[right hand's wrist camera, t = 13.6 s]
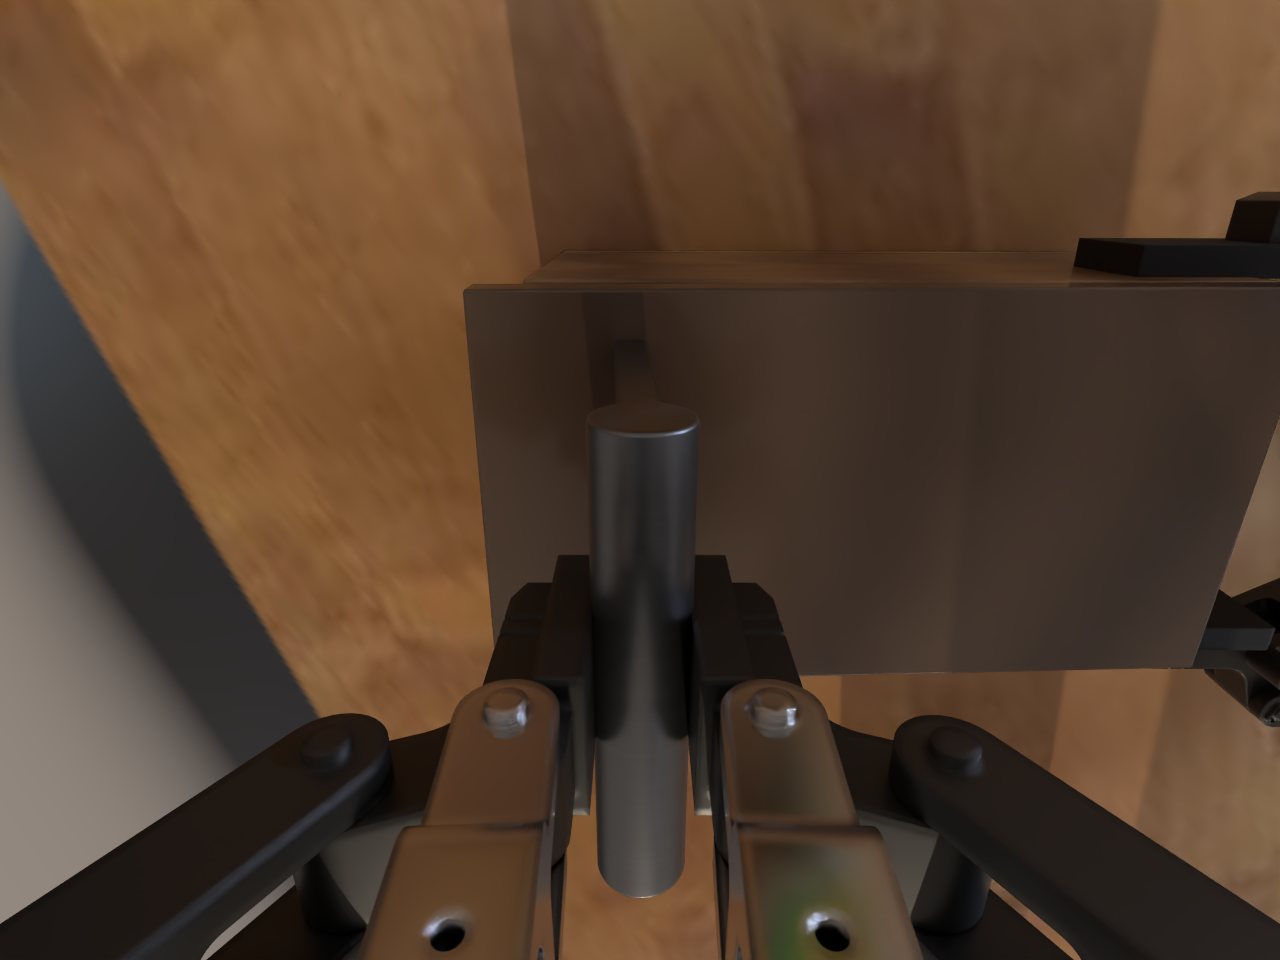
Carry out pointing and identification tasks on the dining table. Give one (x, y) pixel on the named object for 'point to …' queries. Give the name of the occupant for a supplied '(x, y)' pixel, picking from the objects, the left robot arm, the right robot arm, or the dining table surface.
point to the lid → (863, 483)
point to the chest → (828, 268)
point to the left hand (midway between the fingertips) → (1060, 452)
